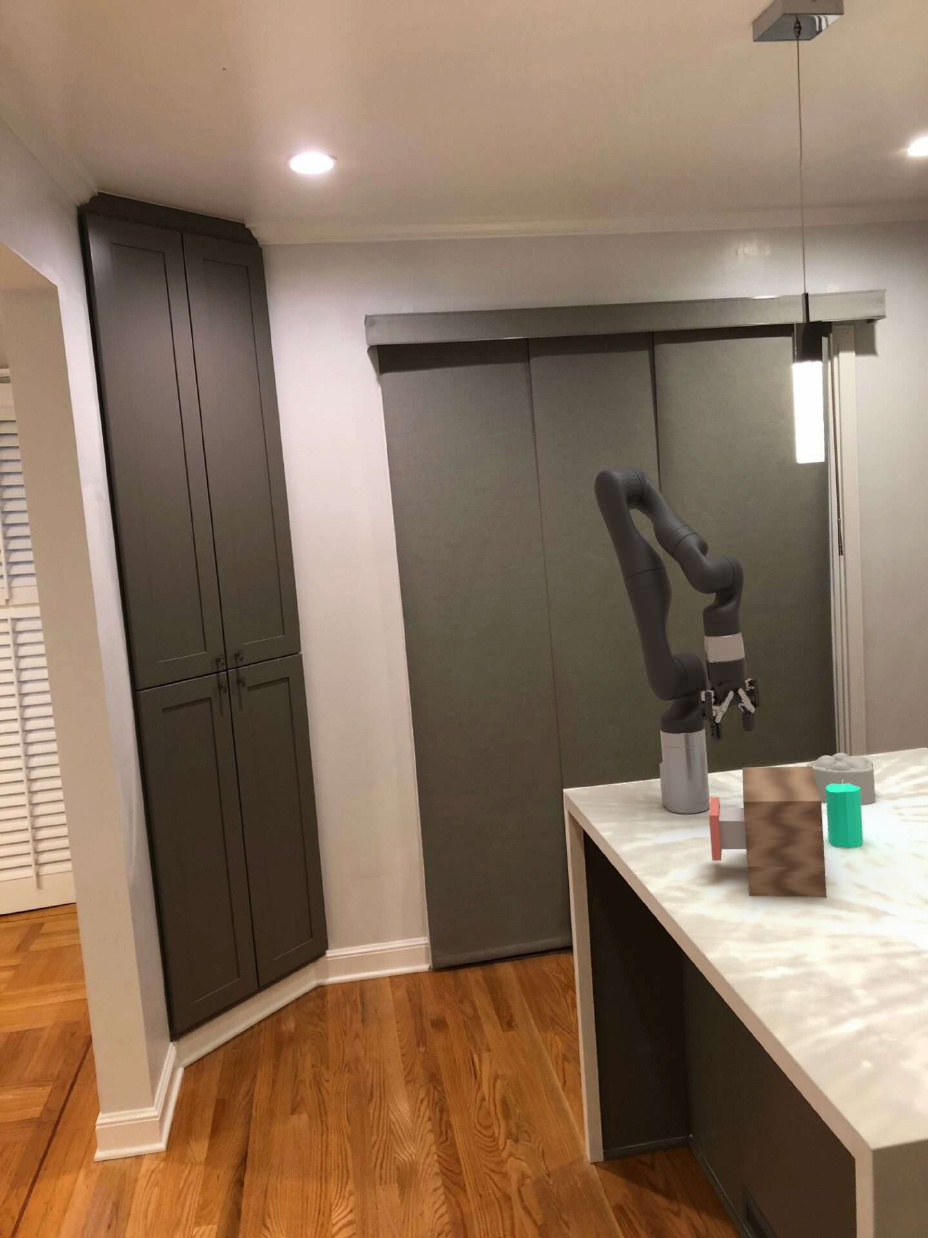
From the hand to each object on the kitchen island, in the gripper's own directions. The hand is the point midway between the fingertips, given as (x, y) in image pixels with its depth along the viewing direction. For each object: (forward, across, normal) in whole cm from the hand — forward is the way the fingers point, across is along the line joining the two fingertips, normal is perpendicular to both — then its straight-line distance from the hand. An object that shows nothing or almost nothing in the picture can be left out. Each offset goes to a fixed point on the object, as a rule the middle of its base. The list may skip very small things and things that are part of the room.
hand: (733, 735), depth 193 cm
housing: (+18, +15, +24) cm, 34 cm away
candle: (+18, -4, +22) cm, 29 cm away
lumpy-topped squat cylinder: (+19, -25, +4) cm, 31 cm away
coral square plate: (+13, +20, +20) cm, 31 cm away
